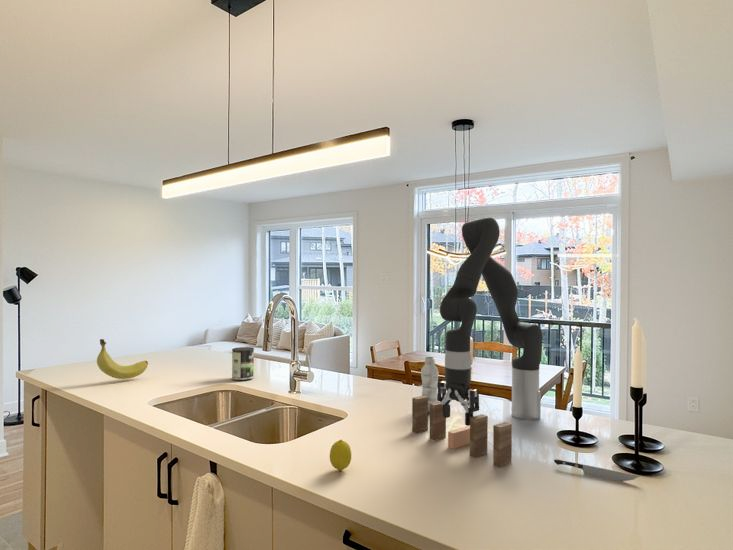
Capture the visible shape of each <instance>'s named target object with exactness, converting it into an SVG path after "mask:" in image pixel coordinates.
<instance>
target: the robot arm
mask: <svg viewBox="0 0 733 550" xmlns="http://www.w3.org/2000/svg"><path fill="white" fill-rule="evenodd" d="M500 233H501V232H500V225H499V223H498V222H497V220H496V219H495V218H494V217H492V216H486V217H480V218H477V219H472V220H470V221H466V222H464V223H463V224H462V227H461V235H462V239H463V242H464V244H465V246H466V247H467V250H468V251H469V253H470V255H468V256H467V258H466V259H465V260H464V261H463V262H462V263H461V265H460V267H459V268H458V271H457V273H456V276H455V279H454V282H453V284H452V286H451V287H450V289H449V290H448V291H447V293H446V294H445V295H444V297H443V298H442V299H441V303H440V304H439V305H440V306H439V313H440V316H441V317H440V318H442V320H444V321H447V322H458V323H459V322H461V324H460V326H459V328H454V329H449V330H447V331H446V333H445V354H444V380H442V381H438V382H437V400H438V402H441V403H442V405H443V417H444V418H446V419H448V418H450V417H451V402H452V401H456V402H458V403H459V404H460V405H461V406H462V407H463V409H464V411H465V412H464V424H465V425H466V426H469V425H470V417H473V416H474V412H478V411H480V395H479V393H480V392H479V389H477V388H476V389H471V388H470V384H471V382H472V380H471V379H472V356H471V336H472V330H473V327H474V323H475V320H476V316H477V312H478V308H477V304H476V302H475V300H474V299H472V297H474V296H475V295H476V293H477V290H478V286H479V284H480V279H481V277H483V280H484V283H485V285H486V287H487V290H488V292H489V295H490V297H491V298H492V301H493V302H494V304H495V308H496V309H497V312H498V315H499V317H500V320H501V323H502V326H503V329H504V332H505V336H506V338H507V341H508V343H509V344H510V345H511V346H512V347H514V348H518V349H523V353H522V355H521V356H519V357H515V358H512V361H511V416H512V417H514V418H517V419H519V420H525V421H535V420H541V418H542V417H541V416H542V415H541V412H542V409H541V405H542V403H541V401H542V400H541V399H542V397H541V396H542V395H541V391H540V365H541V362H542V356H543V355H542V352H543V332H542V329H541V327H540V326H539V325H538V324H536V323H528V322H522V321H521V320H520V318H519V315H518V314H517V309H516V306H517V303H518V298H519V290H518V289H519V288H518V286H517V284H516V281H515V279H514V277H513V273H511V271H510V270H508V268H506V267H505V266H504V265H503V264H501V263H500V262H499V261H497V260H496V259H495V258H493V257H492V256H491V255H492V253H493V251H494V249H495V247H496V245H497V243H498V242H499V241H498V240H499V238H500Z"/></svg>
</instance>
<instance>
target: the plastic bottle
mask: <svg viewBox="0 0 733 550" xmlns="http://www.w3.org/2000/svg"><path fill="white" fill-rule="evenodd" d="M435 364H436V357H434V356H425V357H424V364H423V366H422V368H420V369H421V370H420V377H421V386H422V390H421V391H422V392H421V396H427V397H428V414H430V404H431V403H436V402H439V401H438V400H437V394H438V382H439V373H440V372H439V370H438V366H436V365H435Z"/></svg>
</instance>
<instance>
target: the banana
mask: <svg viewBox="0 0 733 550" xmlns="http://www.w3.org/2000/svg"><path fill="white" fill-rule="evenodd" d="M99 344H100V346H101V350H100V352H99V353H98V355H97V357H96V365H97V367H98V368H99V370H100V371H101V372H103V373H104V374H105V375H107V376H109V377H110V378H112V379H118V380H125V379H132V378H135V377H138V376H141V375H142V374H143V373H145V371H146V369H147V368H148V365H149V362H148V361H147V360H143V361H139V362H136V363H134V364H131V365H120V364H118V363H117V362H116V361H114V359H113V358H112V357H111V356H110V354H109V353H108V352H107V350H106V344H107V342H106V341H105V339H104V338H100V339H99Z"/></svg>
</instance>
